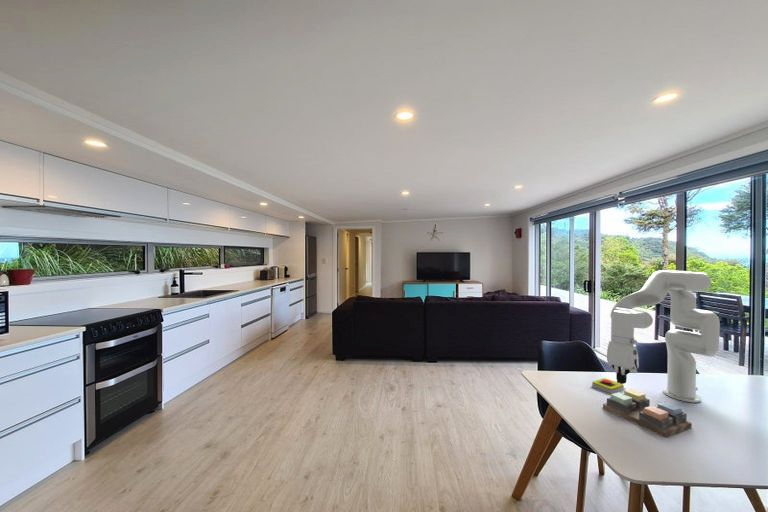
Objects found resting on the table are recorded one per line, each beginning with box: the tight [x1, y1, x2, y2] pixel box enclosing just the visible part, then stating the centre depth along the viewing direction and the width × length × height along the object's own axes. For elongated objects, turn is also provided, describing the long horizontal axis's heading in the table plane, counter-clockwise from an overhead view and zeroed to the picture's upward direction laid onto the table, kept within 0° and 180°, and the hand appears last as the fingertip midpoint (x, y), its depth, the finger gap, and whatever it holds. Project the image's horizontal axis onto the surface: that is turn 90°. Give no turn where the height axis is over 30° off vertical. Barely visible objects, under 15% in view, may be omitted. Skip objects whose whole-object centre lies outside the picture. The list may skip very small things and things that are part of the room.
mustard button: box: [623, 388, 646, 401], centre depth 128 cm, size 5×5×3 cm
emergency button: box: [590, 377, 627, 396], centre depth 148 cm, size 9×4×15 cm
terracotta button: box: [644, 405, 668, 421], centre depth 114 cm, size 5×5×3 cm
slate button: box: [657, 401, 683, 416], centre depth 117 cm, size 5×5×3 cm
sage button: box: [610, 392, 632, 405], centre depth 125 cm, size 5×5×3 cm
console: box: [602, 396, 693, 438], centre depth 121 cm, size 17×22×5 cm
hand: (621, 382), depth 125 cm, fingers closed
